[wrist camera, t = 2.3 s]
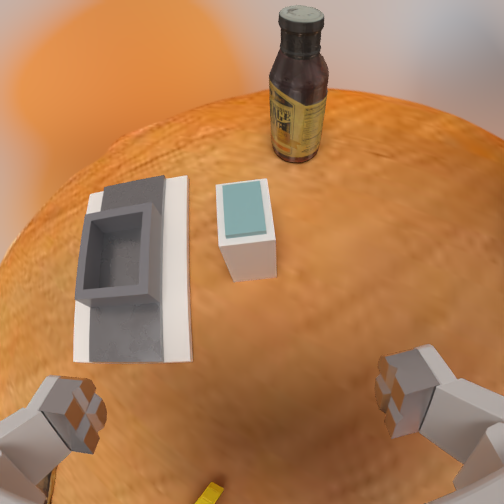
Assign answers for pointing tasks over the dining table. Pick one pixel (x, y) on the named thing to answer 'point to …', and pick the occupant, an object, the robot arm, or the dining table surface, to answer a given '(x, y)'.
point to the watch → (210, 494)
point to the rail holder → (135, 275)
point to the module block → (246, 229)
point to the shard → (47, 485)
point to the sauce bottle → (298, 85)
